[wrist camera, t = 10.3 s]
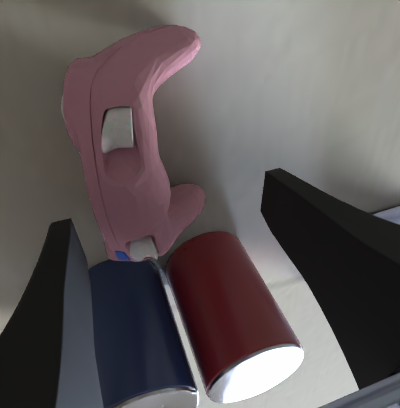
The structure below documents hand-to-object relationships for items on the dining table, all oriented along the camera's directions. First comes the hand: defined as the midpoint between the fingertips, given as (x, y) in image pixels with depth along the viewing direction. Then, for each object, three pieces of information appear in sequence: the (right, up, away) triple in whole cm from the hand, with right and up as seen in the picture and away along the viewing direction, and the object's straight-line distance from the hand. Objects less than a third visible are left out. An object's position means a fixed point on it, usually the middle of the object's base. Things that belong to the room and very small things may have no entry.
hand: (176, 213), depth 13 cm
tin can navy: (-5, -5, +11) cm, 13 cm away
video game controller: (-2, +4, +4) cm, 6 cm away
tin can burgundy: (+1, -4, +13) cm, 13 cm away
